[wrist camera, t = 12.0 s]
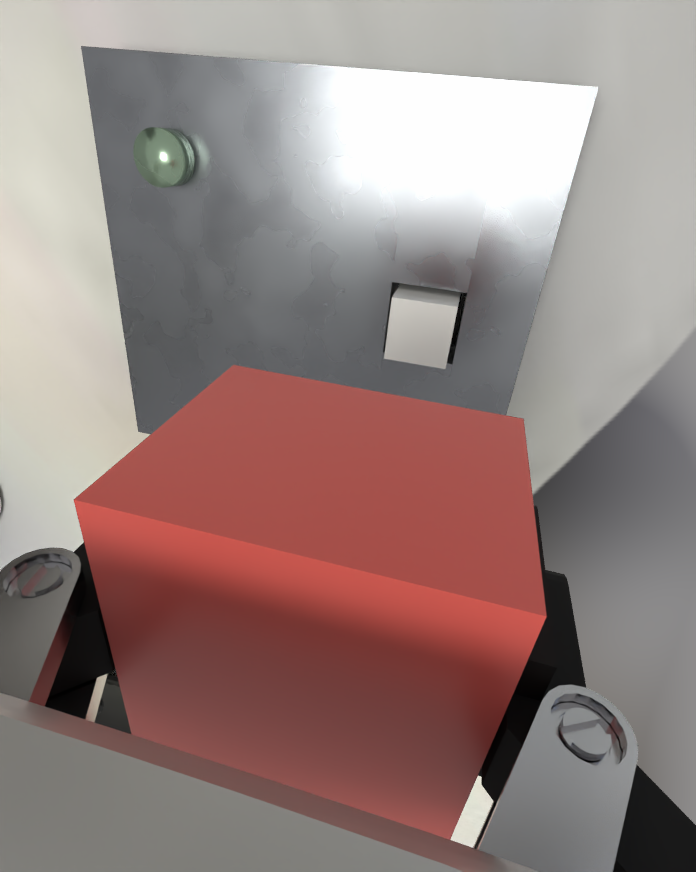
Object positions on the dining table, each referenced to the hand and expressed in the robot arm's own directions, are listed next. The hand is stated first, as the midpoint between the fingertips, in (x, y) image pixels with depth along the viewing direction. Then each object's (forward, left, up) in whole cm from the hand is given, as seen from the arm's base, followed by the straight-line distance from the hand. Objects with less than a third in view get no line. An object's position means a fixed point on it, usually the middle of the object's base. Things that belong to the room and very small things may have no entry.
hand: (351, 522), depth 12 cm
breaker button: (0, 0, -18) cm, 18 cm away
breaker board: (0, +6, -19) cm, 20 cm away
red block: (0, 0, -1) cm, 1 cm away
